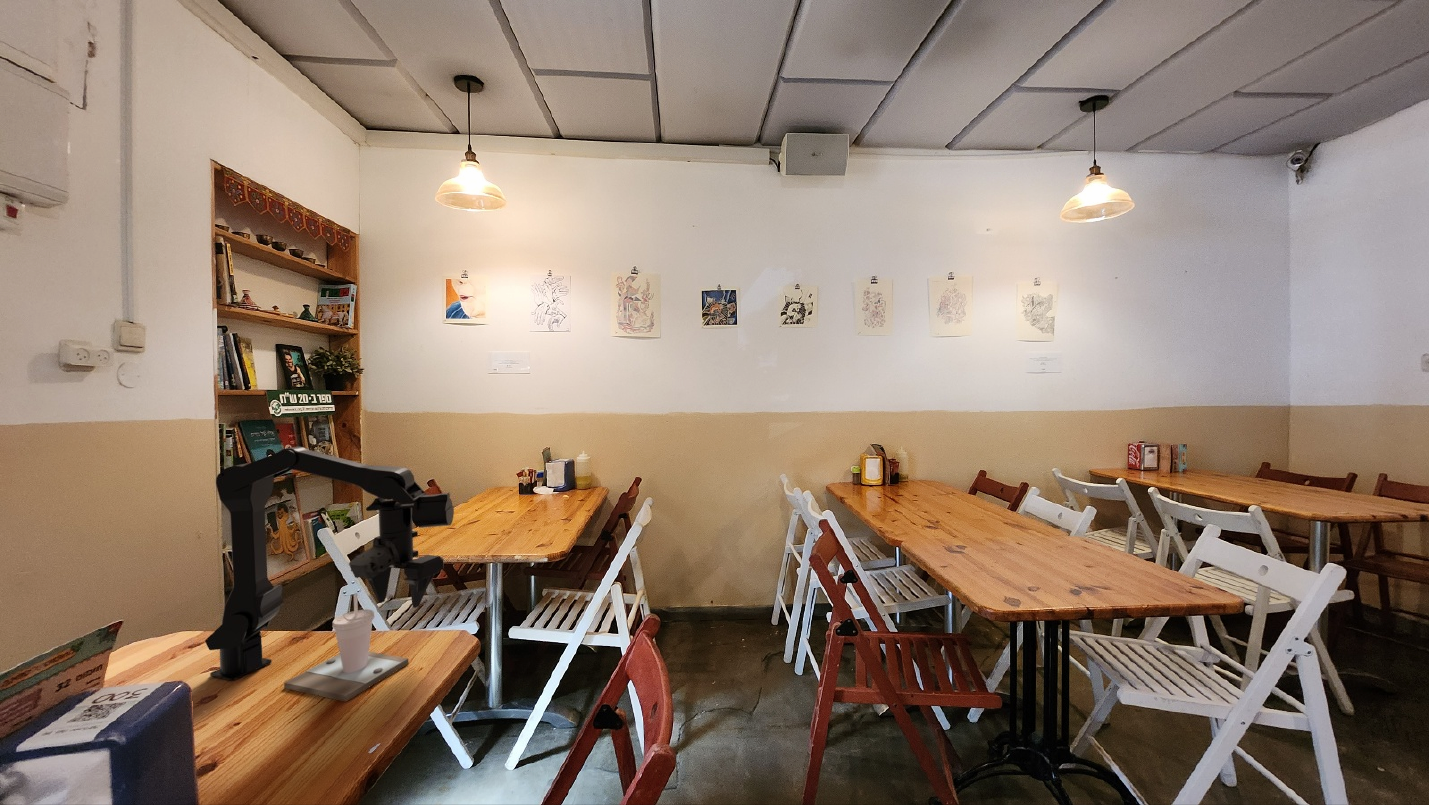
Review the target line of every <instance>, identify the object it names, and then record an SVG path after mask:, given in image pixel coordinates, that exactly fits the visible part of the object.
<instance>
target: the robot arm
mask: <svg viewBox="0 0 1429 805" xmlns="http://www.w3.org/2000/svg"><path fill="white" fill-rule="evenodd" d="M292 470H294V471H298V472H302V473H306V474H310V475H314V476H317V477H323V478H327V479H330V480H334V481H339V482H342V483H343V482H344V483H347V484H351V485H354V486H356V487H358V488H359V489H361V490H363V491H364V492H366V493H368V494H370V495H373V496H375V497H376V498H374V500H373V501H372V502H371V503H370V504H369V505H368V506H367V507H366V508H365V511H367V512H373V511H378V526H379V527H378V530H379V531H378V532H379V535H378V536H376V537H374V538H373V540H372V547H370V548H368V549H366V550H364V552H362V553H360V554H357V555H355V556H354V557H353V558H352V560H350V561H349V562H348V565H349V568H350V571H351V572H352V574H353V576H354V578H356V579H359V578H363V579H366V580H367V581H368V583H369V585H370V587H371V589H372V591H373V593H374V596H375V598H376V600H377V602H378V603H379V604H383V603H385V601H386V599H387V598H386V597H387V594H388V589H389V583H390V578H391V573H392V569H402V570H403V569H404V570H403V574H404V575H405V578H403V580H404V582H406V583H407V584H409V587H410V588H409V589H410V598H411V604H412V608H418V607H420V604H421V602H422V600H423V598H424V596H425V593H426V591H427V589H428V587H429V585H430V583H431V581H432V580H433V578H434V576H435V575H436V574H438V573H439V572H440V571H442V570H444V569H445V568H444V565H445V564H444V558H443V557H441V556H440V555H433V554H426V555H423V556H420V557H418V556H419V550H414V538H416V537H418V533H419V532H418V531H417V530H413V524H414V526H417V527H418V528H419V529H421V528H432V527H433V528H434V527H435V528H436V527H447V526H448V527H449V526H451V525H452V523H453V520H454V514H455V511H454V510H455V507H454V506H455V505H454V504H453V501H452V499H451V493H450V492H442V493H439V494H427V492H425V491H424V489H423V488H422V487H421V486H420V485H419V484H418V483H417V482H416V481H415V476H414V474H413V472H412V470H410V469H408V468H407V467H403V466H391V465H370V464H364V463H362V462H361V463H360V462H357V461H353V460H349V459H345V458H342V457H337V456H333V455H329V454H326V453H322V452H317V451H314V450H311V449H307V448H305V447H303V446H294V447H293V446H292V447H286V448H282V449H281V450H279V451H277V452H275V453H273V454H270V455H268V456H266V457H263V458H260V459H258V460H254V461H251V462H247V463H242V464H237V465H232V466H228V467H226V468H224V469H222V471H221V472H219V473H218V474H217V476H216V479H215V485H216V490H217V493H218V497H219V501H220V502H221V503H222V504H223V505H224V507H225V508H226V509H227V511H228V512H229V516H230V517H229V518H230V535H231V536H230V537H231V538H230V539H231V560H232V561H231V562H232V563H231V565H232V581H233V582H232V584H233V585H232V590H231V591H230V593H229V596H228V598H227V600H226V602H225V603H224V606H223V607H224V608H223V613H222V614H223V615H222V619H221V620H222V621H221V625H220V626H218V628H216V629H215V631H213V632H211V634H210V635H209V636H208V637H207V638H206V639H205V640H204V641H205V644H206V646H207V648H208V650H209V651H216V650H217V651H218V650H219V668H218V669H216V670H213V671H212V672H210V673H209V676H210V677H214V678H218V679H222V680H226V681H231V682H232V681H235V680H236V679H239V678H242V677H244V676H246V675H248V674H250V673H252V672H255V671H256V670H259V669H261V668H263V667H265V666H267V665H269V664H271V663H272V659H269V658H265V657H263V644H262V642H263V641H262V640H263V639H262V634H261V633H262V632H261V631H262V630H264V629H265V628H267V627H269V625H270V623H271V620H272V619H273V618H274V617H275V616H277V614H279V611H280V610H281V609H280V608H281V606H282V605H284V604H285V602H284V600H283V597H282V592H283V585H282V584H277V585H274V584H273V583H272V582H271V581H270V580H269V578H268V557H267V554H268V553H267V538H266V537H267V536H266V535H267V534H266V532H267V530H266V511H265V510H266V509H265V508H266V505H267V503H268V501H269V499H270V496H271V495H272V493H273V488H274V482H275V479H276V478H279V477H281V476H283V475H286V474H287V473H290V471H292ZM415 557H418V558H415ZM413 558H415V559H413Z"/></svg>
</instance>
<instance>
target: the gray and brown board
mask: <svg viewBox="0 0 1429 805" xmlns="http://www.w3.org/2000/svg"><path fill="white" fill-rule="evenodd" d="M407 665H409V658H407V657H403V656H402V657H401V656H396V655H390V654H384V653H378V652H373V651H369V655H368V664H367V666H366V667H365V668H363V669H361V670H359V671H356V672H352V673H345V672H343V667H342V662H341V657H340V653H337V655H334V656H333V657H331V658H329V659H326V660H325V661H322V662H321V663H319V664H317V665H315V666H312V667H311V668H309V669H307V670H305V671H304V672H302V673H300V674H297V675H296V676H294V677H292V678H290V679H288V680H287V681H284V682H283V686H284V689H286V690H292V691H296V692H300V693H301V692H302V693H305V694H309V695H314V694H315V695H314V696H318V695H319V697H324V698H328V699H332V700H337V701H341V702H348V701H350V700H351V699H353V698H354V697H356V696H358V695H359V694H360V693H362V692H364V691H366V690H367V688H368V687H369V686H371V687H373V686H374V685H376V684H377V683H379V682H380V681H379V680H381V679H382V680H384V679H385V678H384V677H386V678H387V677H389V676H391V675H392V674H394V673H396V672H397V671H399V670H401V669H402V668H403V667H405V666H407ZM398 669H399V670H398ZM396 670H397V671H396ZM395 671H396V672H395ZM393 672H394V673H393ZM390 674H391V675H390ZM383 678H384V679H383ZM382 680H381V681H382ZM378 681H379V682H378ZM375 683H376V684H375ZM373 684H374V685H373ZM369 688H370V687H369ZM369 688H368V689H369ZM365 689H366V690H365ZM357 694H358V695H357Z"/></svg>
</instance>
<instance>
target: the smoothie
mask: <svg viewBox="0 0 1429 805" xmlns="http://www.w3.org/2000/svg"><path fill="white" fill-rule="evenodd" d="M374 619H375V611H374V610H372V609H366V608H365V609H359V607H358V593H353V610H352V611H348V612H346V613H343V614H341V615H338V616H337V617H335V618H334V619H333V621H332V625H331V626H332V629H334V631H335V636H336V641H337V646H338V651H339V654H340V657H341V662H342V667H343V672H345V673H352V672H356V671H359V670H361V669H363V668H365V667H366V666H367V664H368V655H369V652H370V644H371V635H372V629H373V628H372V626H373V620H374Z"/></svg>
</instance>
